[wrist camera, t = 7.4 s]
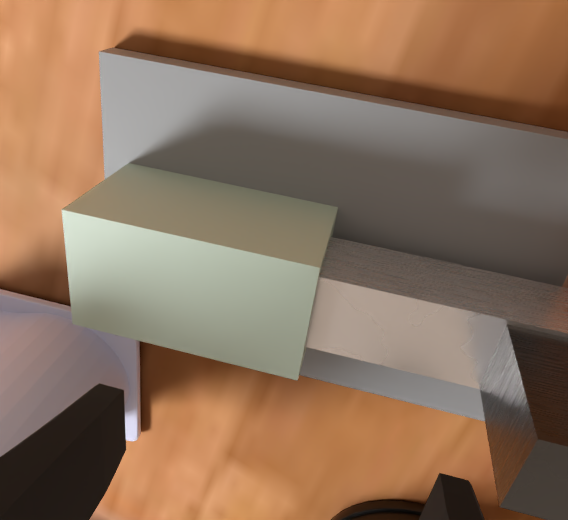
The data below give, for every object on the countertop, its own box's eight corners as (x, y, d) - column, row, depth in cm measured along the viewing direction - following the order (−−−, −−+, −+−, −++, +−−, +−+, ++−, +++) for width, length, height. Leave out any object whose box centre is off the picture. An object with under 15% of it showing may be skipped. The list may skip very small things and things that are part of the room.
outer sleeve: (130, 262, 22) (72, 324, 18) (128, 162, 20) (61, 209, 16) (317, 306, 21) (297, 380, 17) (337, 207, 19) (320, 267, 15)
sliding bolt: (252, 285, 20) (181, 426, 14) (259, 221, 19) (186, 345, 12) (616, 370, 19) (718, 569, 12) (655, 307, 17) (793, 497, 11)
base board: (122, 315, 25) (111, 328, 24) (113, 47, 19) (99, 51, 18) (604, 434, 22) (612, 453, 21) (777, 170, 16) (798, 182, 15)
